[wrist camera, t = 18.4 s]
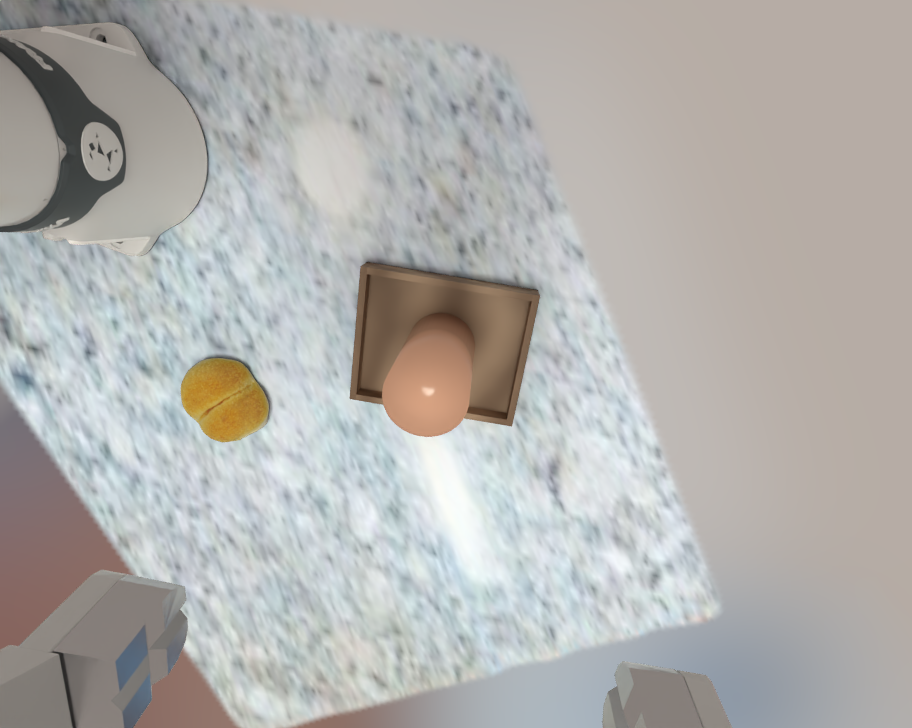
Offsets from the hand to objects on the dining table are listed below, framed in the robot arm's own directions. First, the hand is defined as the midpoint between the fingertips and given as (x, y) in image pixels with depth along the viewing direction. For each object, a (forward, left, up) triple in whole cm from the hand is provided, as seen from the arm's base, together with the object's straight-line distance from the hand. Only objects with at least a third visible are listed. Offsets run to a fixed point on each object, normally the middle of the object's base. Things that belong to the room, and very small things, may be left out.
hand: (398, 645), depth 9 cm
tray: (-2, -7, -39) cm, 40 cm away
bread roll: (-23, -17, -39) cm, 49 cm away
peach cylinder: (-2, -7, -38) cm, 39 cm away
